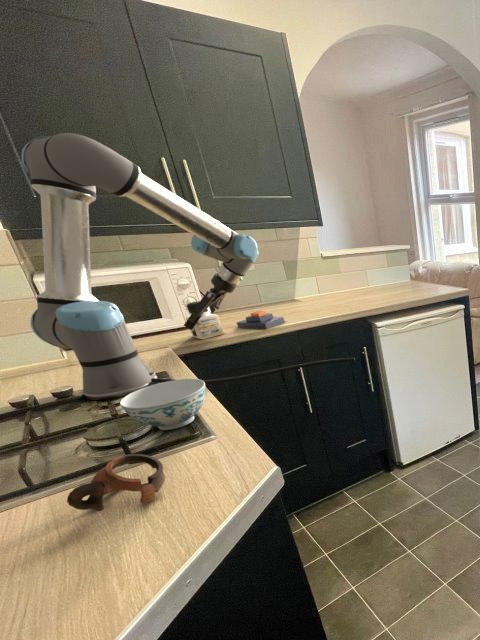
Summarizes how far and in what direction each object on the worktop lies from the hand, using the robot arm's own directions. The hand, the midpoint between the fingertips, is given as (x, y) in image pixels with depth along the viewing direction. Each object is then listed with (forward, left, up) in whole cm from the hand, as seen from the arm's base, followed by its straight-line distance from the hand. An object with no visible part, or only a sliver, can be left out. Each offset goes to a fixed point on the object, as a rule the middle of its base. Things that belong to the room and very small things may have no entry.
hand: (195, 323), depth 158 cm
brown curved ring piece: (-78, +82, -5) cm, 113 cm away
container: (-3, -1, -5) cm, 6 cm away
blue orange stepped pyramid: (-13, -17, -5) cm, 22 cm away
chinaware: (-60, +58, -5) cm, 83 cm away
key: (-13, -17, -1) cm, 21 cm away
